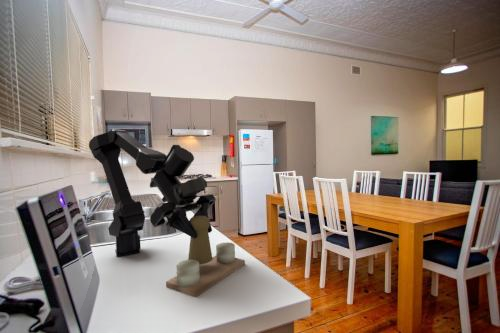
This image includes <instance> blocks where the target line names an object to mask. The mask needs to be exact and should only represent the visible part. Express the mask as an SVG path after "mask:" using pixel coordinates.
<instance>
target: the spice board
mask: <svg viewBox="0 0 500 333" xmlns="http://www.w3.org/2000/svg"><path fill="white" fill-rule="evenodd" d="M235 246H236V245H235V243H233V242H226V241H225V242H220V243H217V244H216V245H215V252H216V254H215V255H214V256H212V260H211V261H210V262H208V263H205V264H199V262H198V261H196V260H188V259H185V260H182V261H179V262H177V264H176V265H175V266H176V267H175V269H176V276H175V277H173V278H170V279H169V280H167V281H165V286H166V288H168V289H171V290H174V291H176V292H180V293H183V294H185V295H188V296H191V297H193V298H196V297H199V296H200V295H201V294H202V293H204V292H206V291H207V290H209V289H210V288H212V287H213V286H214V285H216V284H218V283H219V282H221V281H222V280H224V279H226V278H227V277H228V276H230V275H231V274H232V273H234V272H236V271H237V270H239V269H240V268H242V267H243V266H245V265H246V261H245V260H246V259H242V258H238V257H236V250H235V248H236V247H235ZM244 264H245V265H244ZM241 266H242V267H241ZM238 268H239V269H238ZM235 270H236V271H235Z"/></svg>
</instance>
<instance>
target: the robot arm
mask: <svg viewBox="0 0 500 333" xmlns="http://www.w3.org/2000/svg"><path fill="white" fill-rule="evenodd" d="M88 148H89V150H90V151H91V154H92V156H93V158H95V160H97V161H98V162H99V163H101V165H102V168H103V171H104V174H105V177H106V180H107V183H108V186H109V189H110V192H111V196H112V197H113V198H112V199H113V201H114V205H115V206H114V209H113V211H112V218H113V219H112V221H111V222H110V225H109V226H108V228H107V230H108V233H109V236H111V237H112V236H113V237H114V238H115V256H116V257H117V258H118V257H123V256H127V255H133V254H139V253H140V249H141V236H140V234H139V232H140V231H143V230H144V225H145V220H146V215H145V210H144V208H143V204H142V202H141V200H140V201H139V200H138V201H137V200H136V201H135V200H134V199H133V198H132V194H131V192H130V189H129V187H128V186H129V185H128V183H127V181H126V178H125V175H124V172H123V168H122V166H121V163H120V159H119V157H120V154H121V150H123V151H124V152H125V153H127V154H128V155H129V156H130V157H131V158H133V159H134V160H135V166H136V167H137V169H139V171H140V172H141V173H142V174H144V175H153V174H154V175H153V177H151V178H150V183H149V188H157V189H158V190H159V192H160V193H161V195H162V196H163V197H162V198H161V201H162V202H163V203H158V205H157V206H156V207H155V209H154V210H153V212H152V213H151V214H150V217H149V218H150V219H149V220H150V223H151V225H152V226H153V227H154V228H157V227H160V226H164V225H165V226H166V227H171V228H173V229H175V230H177V231H179V232H181V233H184V234H185V235H186V236H189V237H190V238H191V237H192V238H194V239H195V238H197V236H198V235H197V233H196V231H195V229H194V228H193V226H192V225H191V223H190V219H189V218H188V217H187V212H192V213H193V216H192V217H195V216H206V217H208V218H209V214H208V213H209V212H208V211H209V209H211V207H212V206H213V205H214V203H215V202H216V201H217V199H216V197H215V196H214V194H211V193H208V194H203V195H202V194H201V195H200V196H199V197H198V194H199V193H201V192H204V191H206V188H208V181H207V180H206V179H205V178H204V177H203V176H197V177H196V178H191V179H189V180H187V181H184V182H183V183H182V182H181V181H180V179H179V177H182V176H184V174H185V173H186V172H187V170H188V169H189V167H190V166H191V165H192V163H193V162H194V160H195V156H194V155H193V153H192V152H191V151H189V150H188V149H186V148H184V147H181V145H179V144H172V146H171V147H170V150H169V152H168V153H167V154H166V153H163V152H162V151H160V150H156V149H152V148H148V147H147V146H146V145H145V144H143V143H141V142H140V141H139V140H138V139H136V138H135V137H133V136H132V135H131V134H130V133H129V132H128V131H127V130H125V129H109V131H107V132H104V133H100V134H97V135H94V136H93V137H92V138H90V140H89V142H88ZM197 198H198V199H197ZM195 199H197V200H196V201H194V200H195ZM165 218H166V219H165ZM209 219H210V218H209ZM166 220H167V222H166ZM165 222H166V224H165ZM212 231H213V228H212V224H211V223H210V225H209V228H208V234H211V232H212Z"/></svg>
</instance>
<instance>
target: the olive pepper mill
mask: <svg viewBox="0 0 500 333" xmlns="http://www.w3.org/2000/svg"><path fill="white" fill-rule="evenodd" d="M208 217H209V216H208ZM208 217H206V216H195V217H193V216H192V217H191V218H189V221H190V223H191V225H192V226H193V228H194V229H195V231H196V233H197V235H198V236H197V238H195V239H194V238H192V237H191V236H190V241H189V249H188V257H187V258H188V259H187V260H196V261H198V262H199V264H205V263H208V262H210V261H211V260H212V257H213V254H212V248H211V241H210V236H209V234H210V233H209V232H208V228H209V225H210V224H211V221H210V218H208Z"/></svg>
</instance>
